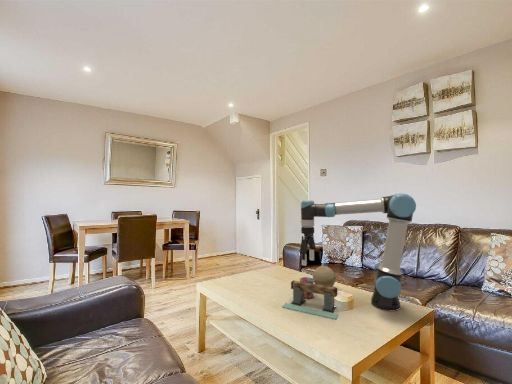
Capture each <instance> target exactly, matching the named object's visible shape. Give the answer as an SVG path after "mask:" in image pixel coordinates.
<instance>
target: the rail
mask: <svg viewBox="0 0 512 384" xmlns="http://www.w3.org/2000/svg"><path fill="white" fill-rule="evenodd" d="M294 286H295V287H300V291H306V292H311V293H313V294H317V295H323V296H324V292H329V293H332V296H333V297H334V298H336V297H337V296H338V287H334V286H332V287H330V286H324V285H318V284H315V283H313V284H312V283H306V282H300V280H292V281H290V289H291V290H293V287H294Z"/></svg>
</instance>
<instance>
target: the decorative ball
mask: <svg viewBox="0 0 512 384" xmlns="http://www.w3.org/2000/svg"><path fill="white" fill-rule="evenodd" d="M333 270H334V269H332V268H330V267H328V266H325V265H321V266H318V267H316V268H315V269H314V271H313V274H312V278H313V279H314V280H316V284H318V285H324V286H330V287H334V286H335V283H336V274H335V272H334V271H333ZM313 284H315V281H314V283H313Z"/></svg>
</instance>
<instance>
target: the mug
mask: <svg viewBox="0 0 512 384" xmlns="http://www.w3.org/2000/svg"><path fill="white" fill-rule="evenodd" d="M299 281H300V282H306V283H312V284H316V280H314V279H313V277H309V276H308V277H307V276H305V277H300V278H299ZM314 281H315V283H314ZM313 297H315V293H311V292H306V291H304V299H305V298H306V299H312V298H313Z"/></svg>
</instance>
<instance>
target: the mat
mask: <svg viewBox="0 0 512 384" xmlns="http://www.w3.org/2000/svg"><path fill="white" fill-rule="evenodd" d="M282 308H283V309H286V308H287V310H291V311H296V312H300V313H305V314H309V315H313V316H318V317H323V318H328V319H332V320H337V318H338V317H339V314H338V313H335V312H334V313H331V312H326V311H322V309H316V308H312V307H306V306H303V305H302V306H298V305H294V304H291V303H288V302H285V303H284V304H283V305H282V306H281V309H282Z"/></svg>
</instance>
